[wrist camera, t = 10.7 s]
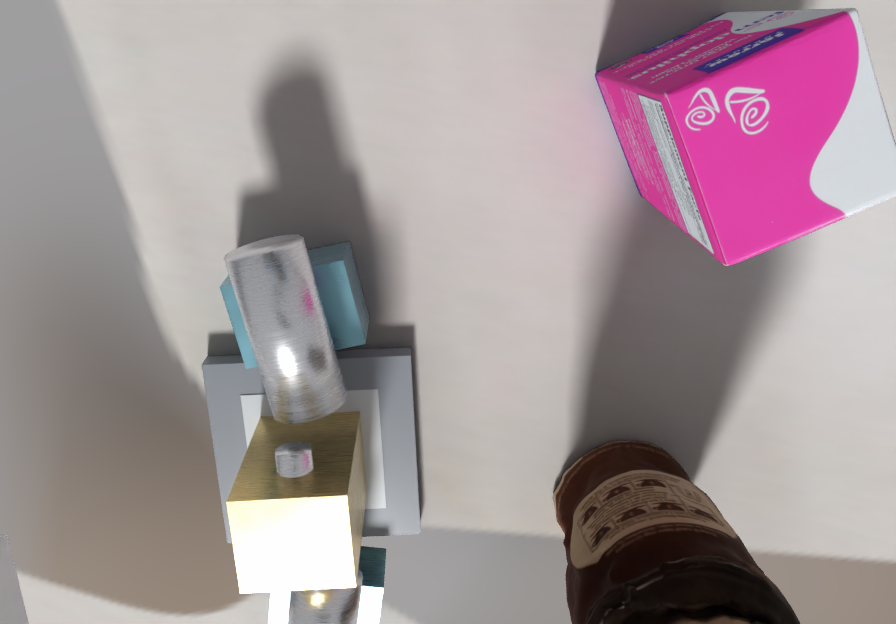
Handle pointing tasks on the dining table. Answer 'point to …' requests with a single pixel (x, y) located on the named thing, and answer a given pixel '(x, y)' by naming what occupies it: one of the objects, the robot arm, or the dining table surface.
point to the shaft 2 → (336, 598)
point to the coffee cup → (654, 546)
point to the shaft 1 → (296, 320)
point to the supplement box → (755, 127)
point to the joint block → (299, 505)
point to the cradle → (369, 391)
